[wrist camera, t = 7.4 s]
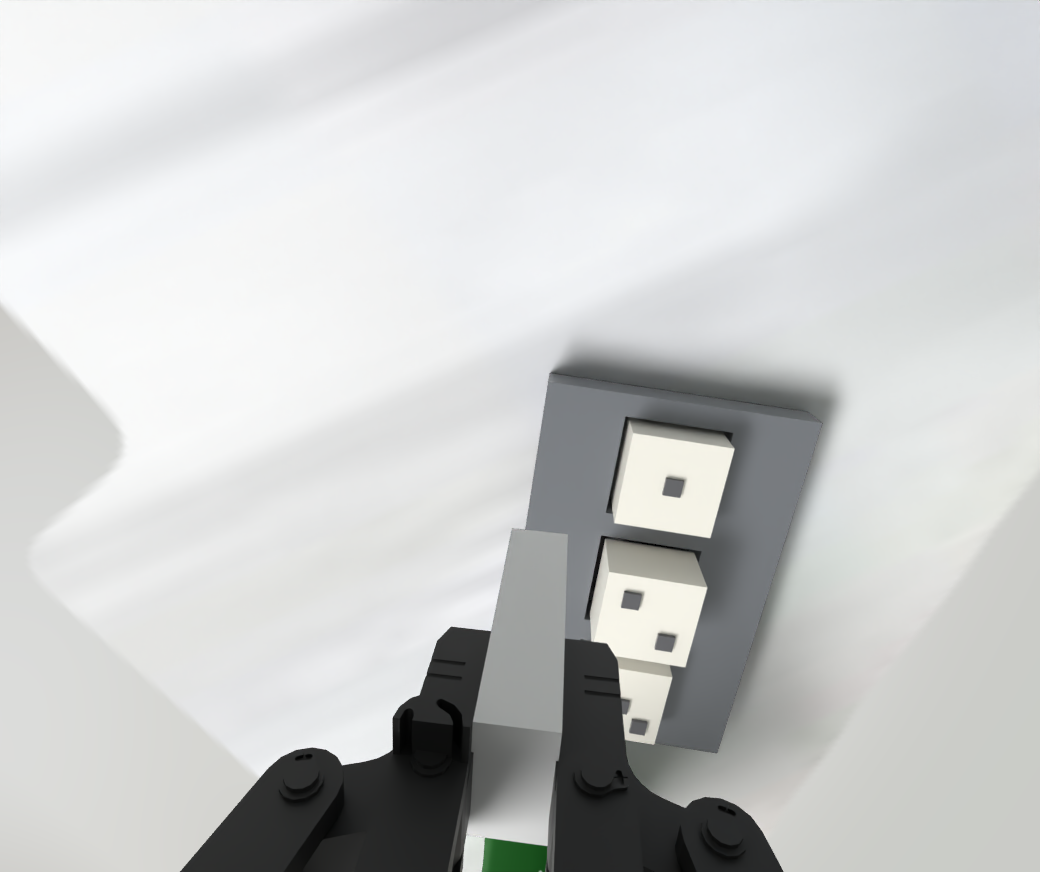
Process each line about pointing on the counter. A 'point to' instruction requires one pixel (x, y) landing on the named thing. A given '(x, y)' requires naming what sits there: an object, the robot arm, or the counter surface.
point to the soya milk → (513, 856)
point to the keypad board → (722, 558)
